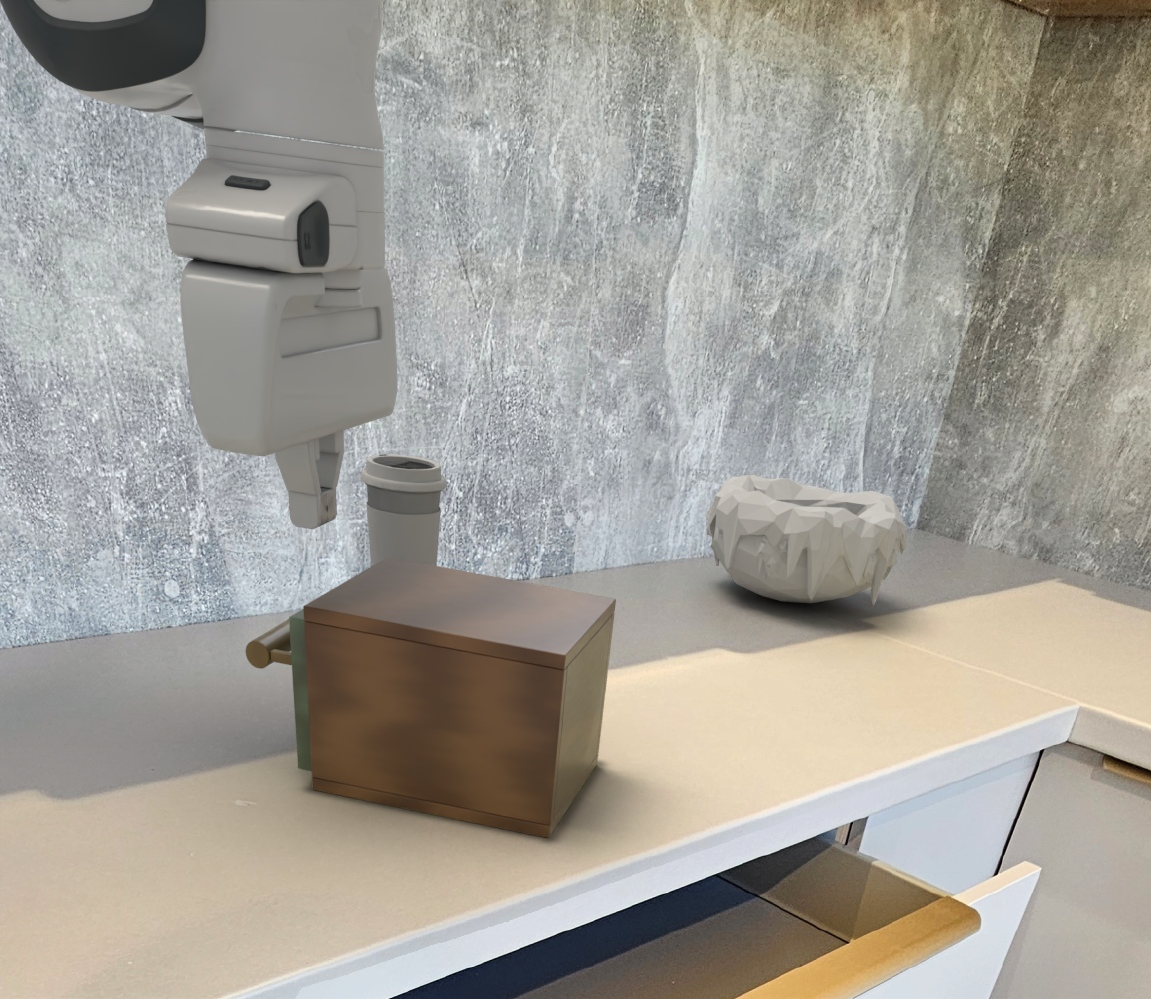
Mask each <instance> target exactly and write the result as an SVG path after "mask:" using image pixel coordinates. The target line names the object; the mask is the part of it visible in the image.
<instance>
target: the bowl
mask: <svg viewBox="0 0 1151 999" xmlns="http://www.w3.org/2000/svg"><path fill="white" fill-rule="evenodd" d="M705 519H706V521H707V524H706V535H707V536H710V537H711V544H710V548H711V550H712V553H713V556H714V561H715V565H716V566H717V567H718V566H720V564H721V565H722V566H723V568H724V569H725V571H726V572H727V574H728V575H729V576H730V577H731V578H732V579H733V581H734V583H735V584H737V585H738V586H740V587H743V588H744V589H747V590H748V591H750V592H753V593H755V594H756V595H759V596H760V597H766V598H768V599H771V600H775V601H779V602H785V603H797V604H798V603H800V604H817V603H821V602H827V601H831V600H837V599H843V598H849V597H851V596H853V595H856V594H859V593H860V592H862V591H865V590H867V589H870V601H871V603H872V607H874V606H875V605H876V601H877V599H878V595H879V592H880V589H881V586H882V583H883V582H884V581H885V580H886V579H887V577H888V575H889V574H890V573H891V570H892V568H893V567H894V566H896V564H897V563H898V554H899V553H900V555H903V553H904V551H905V549H907V526H906V524H905V520H904V519H903V517H902V514H901V512H900V509H899V507H898V505H897V504H896V501H895V499H894V497H893V496H890V495H887V494H884V493H880V492H878V491H874V490H868V491H867V490H866V491H860V492H856V493H853V492H852V493H851V492H842V491H835V490H831V489H827V488H823V487H819V486H814V485H808V484H803V483H800V482H798V481H795V480H793V479H791V478H789V477H779V478H778V477H777V478H766V477H764V476H759V475H757V474H745V475H739V476H735V477H734V476H733V477H730V478H728V479H727V480H725V482H724V483H722V484H721V485H720V488H719V490H718V491H717V493H716V494H715V495H714V500H713V502H712V504H711V505H710V507H709V509H708V511H707V512H706V515H705Z"/></svg>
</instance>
